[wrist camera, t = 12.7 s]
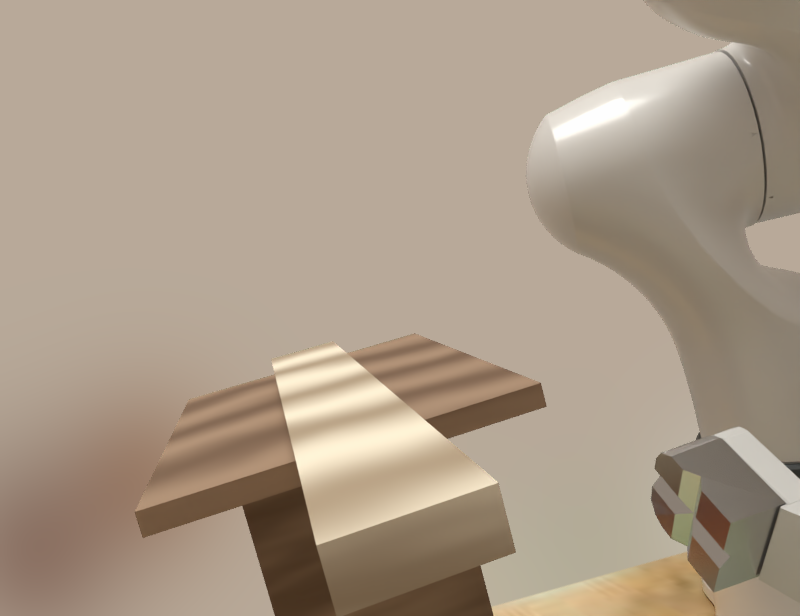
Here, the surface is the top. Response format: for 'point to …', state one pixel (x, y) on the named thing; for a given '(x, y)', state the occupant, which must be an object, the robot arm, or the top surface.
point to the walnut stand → (280, 482)
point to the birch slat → (382, 484)
